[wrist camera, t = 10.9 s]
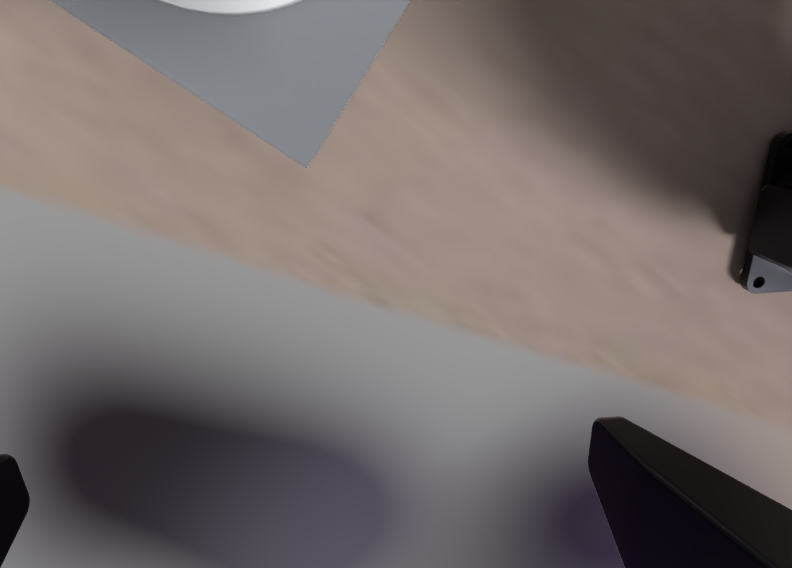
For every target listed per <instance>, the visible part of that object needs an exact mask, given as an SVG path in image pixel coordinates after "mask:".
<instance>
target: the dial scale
mask: <svg viewBox="0 0 792 568" xmlns="http://www.w3.org/2000/svg"><path fill="white" fill-rule="evenodd" d="M50 1H52V2H53V3H55V4H56V5H58V6H59V7H61V8H63V9H64V10H66V11H67V12H69V13H70V14H72V15H73V16H75V17H76V18H78V19H79V20H81V21H82V22H84V23H85V24H87V25H88V26H90V27H91V28H93V29H95V30H96V31H98V32H99V33H101V34H102V35H104V36H105V37H107V38H108V39H110V40H111V41H113V42H114V43H116V44H117V45H119V46H120V47H122V48H124V49H125V50H127V51H128V52H130V53H131V54H133V55H134V56H136V57H137V58H139V59H140V60H142V61H143V62H145V63H146V64H148V65H149V66H151V67H152V68H154V69H156V70H157V71H159V72H160V73H162V74H163V75H165V76H166V77H168V78H169V79H171V80H172V81H174V82H175V83H177V84H178V85H180V86H181V87H183V88H185V89H186V90H188V91H189V92H191V93H192V94H194V95H195V96H197V97H198V98H200V99H201V100H203V101H204V102H206V103H207V104H209V105H210V106H212V107H213V108H215V109H217V110H218V111H220V112H221V113H223V114H224V115H226V116H227V117H229V118H230V119H232V120H233V121H235V122H236V123H238V124H239V125H241V126H242V127H244V128H245V129H247V130H249V131H250V132H252V133H253V134H255V135H256V136H258V137H259V138H261V139H262V140H264V141H265V142H267V143H268V144H270V145H271V146H273V147H274V148H276V149H278V150H279V151H281V152H282V153H284V154H285V155H287V156H288V157H290V158H291V159H293V160H294V161H296V162H297V163H299V164H300V165H302V166H303V167H305V168H307V167H308V165H309V164H310V162H311V161H312V159H313V158H314V157H315V155H316V153H317V152H318V150H319V149H320V147H321V145H322V144H323V142H324V140H325V139H326V137H327V136H328V134H329V132H330V131H331V129H332V127H333V126H334V124H335V123H336V121H337V119H338V118H339V116H340V115H341V113H342V111H343V110H344V108H345V106H346V105H347V103H348V102H349V100H350V98H351V97H352V95H353V94H354V92H355V90H356V89H357V87H358V85H359V84H360V82H361V81H362V79H363V77H364V76H365V74H366V72H367V71H368V69H369V68H370V66H371V64H372V63H373V61H374V60H375V58H376V56H377V55H378V53H379V51H380V50H381V48H382V47H383V45H384V43H385V42H386V40H387V39H388V37H389V35H390V34H391V32H392V30H393V29H394V27H395V26H396V24H397V22H398V21H399V19H400V17H401V16H402V14H403V13H404V11H405V9H406V8H407V6H408V5H409V3H410V1H411V0H50Z"/></svg>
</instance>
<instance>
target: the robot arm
mask: <svg viewBox="0 0 792 568" xmlns="http://www.w3.org/2000/svg"><path fill="white" fill-rule="evenodd" d="M787 141H789V146H788V148H787V149H786V150H785V151H784V146H785V144H786V142H787ZM757 277H758V280H757V282H755V283H754V284H753V282H754V280H755V279H756V278H757ZM741 286H742V287H743V288H744V289H746V290H747V291H749V292H751V293H772V292H787V291H792V131H788V132H782V133H780V134H778V135H777V136H775V138H774V139H773V140H772V142H771V144H770V148H769V152H768V157H767V162H766V166H765V171H764V175H763V180H762V184H761V189H760V194H759V198H758V203H757V207H756V212H755V216H754V221H753V226H752V230H751V235H750V239H749V244H748V248H747V253H746V258H745V262H744V267H743V271H742V276H741ZM588 468H589V472H590V476H591V479H592V481H593V484H594V487H595V490H596V492H597V495H598V497H599V500H600V503H601V505H602V508H603V511H604V514H605V516H606V519H607V522H608V524H609V527H610V529H611V532H612V535H613V538H614V540H615V543H616V546H617V548H618V551H619V554H620V556H621V558H622V561H623V564H624V566H625V568H792V510H791V509H789V508H787V507H785V506H783V505H782V504H780V503H778V502H776V501H774V500H773V499H770V498H769V497H767V496H765V495H763V494H762V493H760V492H758V491H756V490H754V489H752V488H751V487H749V486H747V485H745V484H743V483H742V482H740V481H738V480H736V479H734V478H732V477H731V476H729V475H727V474H725V473H723V472H722V471H720V470H718V469H716V468H714V467H712V466H711V465H709V464H707V463H705V462H703V461H701V460H700V459H698V458H696V457H694V456H692V455H691V454H689V453H687V452H685V451H683V450H682V449H680V448H678V447H676V446H674V445H672V444H671V443H669V442H667V441H665V440H663V439H662V438H660V437H658V436H656V435H654V434H652V433H651V432H649V431H647V430H645V429H643V428H642V427H640V426H638V425H636V424H634V423H632V422H630V421H628V420H627V419H625V418H623V417H602V418H597V419H596V420H595V421H594V423H593V426H592V432H591V440H590V448H589V456H588ZM29 503H30V498H29V493H28V490H27V488H26V485H25V482H24V480H23V477H22V474H21V472H20V469H19V467H18V464H17V462H16V460H15V459H14V458H13V457H12V456H11V455H7V454H0V567H1V565H2V563H3V561H4V559H5V557H6V555H7V553H8V551H9V549H10V547H11V545H12V543H13V541H14V539H15V537H16V535H17V533H18V530H19V529H20V527H21V524H22V522H23V520H24V518H25V516H26V514H27V512H28V508H29Z"/></svg>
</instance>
